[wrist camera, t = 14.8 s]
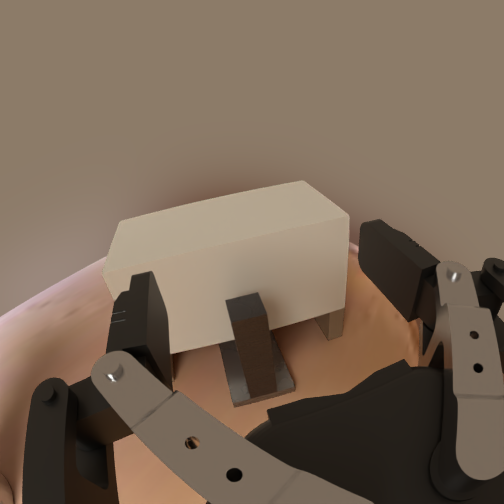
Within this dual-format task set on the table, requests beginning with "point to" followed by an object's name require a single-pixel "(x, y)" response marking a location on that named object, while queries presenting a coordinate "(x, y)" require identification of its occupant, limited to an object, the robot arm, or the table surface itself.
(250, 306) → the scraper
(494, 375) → the robot arm
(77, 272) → the table surface
